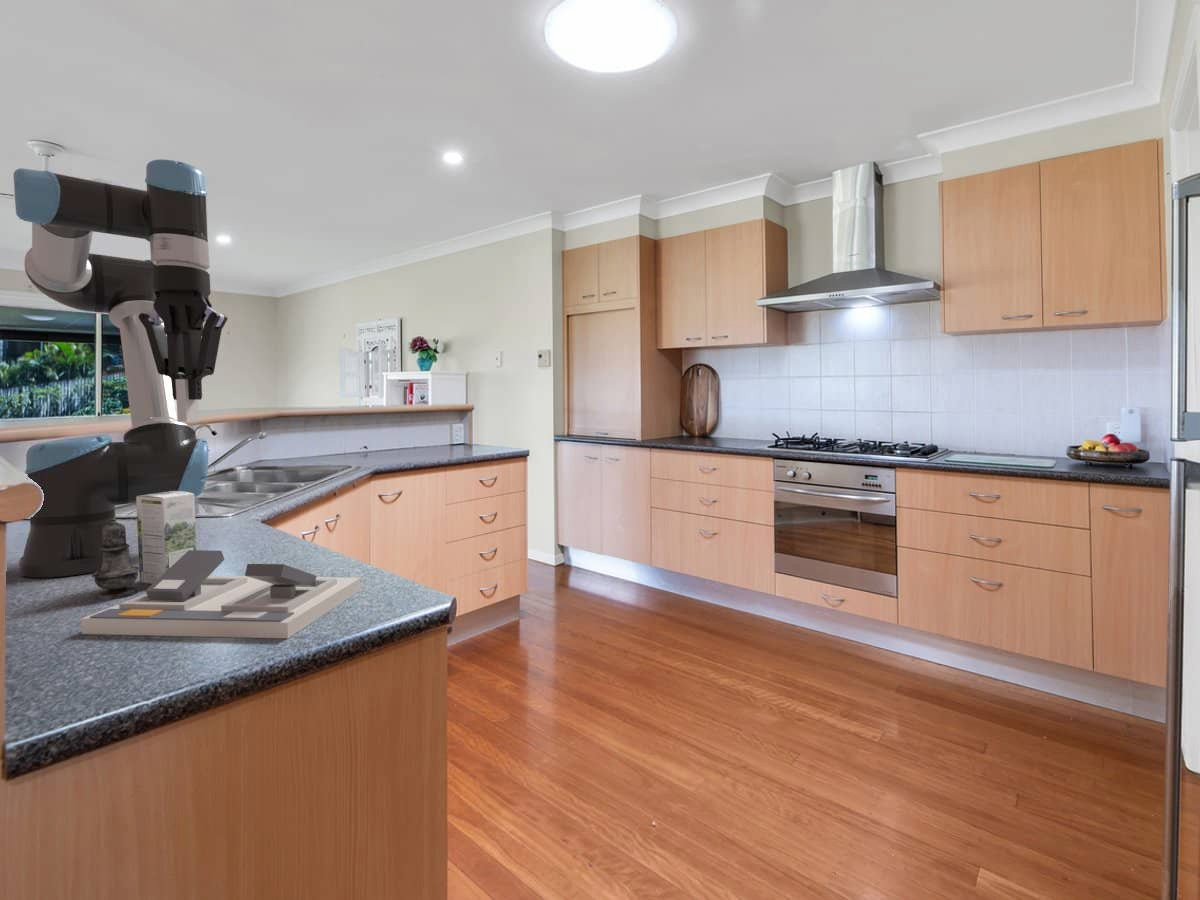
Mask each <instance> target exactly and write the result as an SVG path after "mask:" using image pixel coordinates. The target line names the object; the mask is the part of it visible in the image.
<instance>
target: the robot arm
mask: <svg viewBox="0 0 1200 900" xmlns="http://www.w3.org/2000/svg"><path fill="white" fill-rule="evenodd" d="M145 169H146V174H145V178H144V182H145V183H146V190H145V189H144V190H143V189H138V188H132V187H127V186H122V185H117V184H110V183H106V182H100V181H96V180H90V179H86V178H85V179H84V178H80V177H75V176H69V175H66V174H62V173H61V174H60V173H55V172H52V171H49V170H38V169H29V168H22V167H21V168H17V169H15V170H14V172H13V189H14V190H13V191H14V204H15V205H14V206H15V214H16V216H17V217H18V219H20V220H22V221H24V222H28V223H31V247H30V248H29V249H28V251H27V252H26V253H25V257H24V270H25V273H26V276H27V278H28V279H29V281H30V283H31V284H32V285H33V286H34V287H35V288H37V290H38V291H39V292H41V293H42V294H44V295H46V297H48V298H50V299H52V300H54V301H55V302H57V303H59V304H61V305H63V306H66V307H69V308H70V309H71V308H72V309H75V310H79V311H84V312H93V313H100V314H108V319H109V321H110V323H111V324H112V325H113V326H115V327H117V328H118V329H119V332H120V341H121V349H122V356H123V357H122V358H123V363H124V366H123V367H124V373H125V381H126V388H127V397H128V404H129V412H130V414H129V415H130V421H131V427H130V428H129V429H127V430H126V431H125V432H124V433H123V436H122V438H123V441H116V442H115V441H113V438H111V435H109V434H97V435H86V436H77V437H70V438H63V439H57V440H51V441H44V442H43V441H42V442H39V443H36V444H32V445H31V446H30V447H29V448H28V449H27V451H26V454H25V456H26V457H25V458H26V459H25V461H26V463H25V466H26V467H25V469H24V473H25V474H24V475H27V476H28V477H29V478H30V479H32V480H33V481H34V482H36V483H37V484H38V485H39V486H40V487H41V489H42V490H43V493H44V501H43V505H42V507H41V509H40V510H39V511H38V512H37V513H36V514H35V515H34V516H33V517H31V518H30V517H29V524H30V526H29V533H28V535H27V538H26V543H25V546H24V551H23V556H21V557H20V559H19V561H18V571H19V575H20V574H21V575H23V576H22V577H24V576H26V578H33V579H34V578H36V579H38V578H39V579H40V578H41V579H42V578H58V577H59V578H60V577H69V576H75V575H76V576H77V575H83V574H90V573H91V574H92V573H95V572H97V571H99V570H100V569H101V568H102V564H103V551H102V550H100V548H101V547H103V541H102V528H103V527H104V526H105V525H107V524H109V523H111V518H112V517H114V518H115V519H116V518H117V517H116V506H118V505H119V506H120V505H133V504H136V497H137V496H141V495H149V494H155V493H162V492H170V491H183V492H189V493H193V494H194V498H196V497H199V496H200V495H201V494H202V493H203V492H204V490H205V486H206V482H207V477H208V471H209V470H208V469H209V444H208V441H207V440H206V439H204V438H201V437H200V438H197V435H196V431H195V428H193V427H192V426H191V425H189V424H187V423H186V422H199V421H200V407H199V400H200V401H201V400H202V398H203V390H202V388H203V385H202V384H203V383H202V380H203V378H205V377H207V376H208V377H209V376H212V375H213V374H214V373H215V369H216V363H217V357H218V351H219V347H220V341H221V336H222V331H223V328H224V326H225V324H226V323H227V321H228V316H227V315H226V314H223V313H219V312H218V311H217V310H214V309H213V305H212V303H211V301H210V299H209V296H210V295H211V275H210V273H209V272H208V271H207V270H208V269H210V255H209V252H210V251H209V250H210V249H209V241H208V221H207V220H208V218H207V217H208V214H207V213H208V212H207V196H208V192H207V190H206V189H207V188H206V182H205V176H204V174H203V172H202V171H201V170H200V169H198V168H197V167H195V166H194V165H192V164H188V163H186V162H183V161H182V162H181V161H177V160H173V159H172V160H171V159H161V158H160V159H153V160H151V161H149V162H148V163H147V164H146V168H145ZM94 232H95V233H102V234H109V235H114V236H122V237H129V238H136V239H143V240H145V241H147V242H149V248H150V259H145V260H141V259H134V258H127V257H119V256H114V255H113V256H112V255H107V254H106V255H105V254H98V253H97V254H96V253H91V252H90V249H91V244H92V240H93V239H92V238H93V235H94ZM27 476H26V477H27ZM28 477H27V478H28ZM115 522H117V519H116V520H115ZM129 547H130V546H129ZM129 547H128V548H127V554H128V561H129V562H130V560H131V558H130V557H131V555H130V548H129ZM21 575H20V576H21Z"/></svg>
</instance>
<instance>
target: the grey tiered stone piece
mask: <svg viewBox="0 0 1200 900" xmlns="http://www.w3.org/2000/svg"><path fill="white" fill-rule="evenodd" d="M115 518H116V517H115ZM115 518H114V517H112V518H111V523H109V524H107V525H105V526H104V527H103V528H102V541H103V547H101V548H100V550H102V551H103V564H102V568H101V569H100V570H99V571H96V572H92V573H91V577H92V578H94V582H95V584H96V586H97V587H99V588H100V589H102V590H104V591H101V592H99V593H98V594H97V595H96V596H95V600H98V599H100V601H109V600H110V601H111V600H118V599H123V598H129V597H131V596H134V595H136V594H138V593H140V590H139V589H138V588H136V587H132V585H133V584H134V583H135V582H136V581H137V579H138V576H139V574H138V572H139V570H140V568H139V566H133V565H132V564H131V563H130V561H128V554H127V548H128V547H130V544H127V533H126V526H125V525H124V524H122V523H121V522H117V519H115ZM115 520H116V522H115Z"/></svg>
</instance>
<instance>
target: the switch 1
mask: <svg viewBox="0 0 1200 900" xmlns="http://www.w3.org/2000/svg"><path fill="white" fill-rule="evenodd" d="M224 560H225V557H224V555H223V551H222V550H206V549H205V550H203V549H202V550H201V549H200V550H199V549H198V550H197V549H196V550H189V551H187V552H186V553H185V554H184V555H183V556H182V557H181V558H180V559H179V560H178V561H177V562H176V563H175V564H174V565H173V566H171V567H170V568H169V569H168V570H167V571H166V572H165V573H164V574H163V575H162V576H161V577H160V578H159V579H158V580H157V581H155V582H154V583H153V584H150V586H149V587H148V588H147V589H146V590H145V594H146V593H147V595H148V597H149V599H150V600H174V601H185V600H186V599H187V598H188V597H189V596H190V595H191V594H192V593H193V592H194V591H195V590H196V589H197V588H198V587H199V586H200V585H201V583H202V582H203V581H204V580H205V579H206V578H207V577H208V576H209V575H210V576H211V574H212V573H213V572H214V571H215V570H216V569H217V568H218V567H219V566H220V565H221V564H222V562H224Z"/></svg>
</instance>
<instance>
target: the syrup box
mask: <svg viewBox="0 0 1200 900" xmlns="http://www.w3.org/2000/svg"><path fill="white" fill-rule="evenodd" d="M135 505H136V506H135V507H136V523H137V525H136V526H137V527H136V529H137V543H138V544H137V545H138V546H137V547H138V567H139V568H140V570H139V571H138V572H139V574H138V576H139V582H140V583H141V584H148V585H149V584H150V585H152V584H153V583H154V582H155V581H157V580H158V579H159V578H160V577H161V576H162V575H163V574H164V573H165V572H166V571H167V570H168V569H169V568H170V567H171V566H173V565H174V564H175V563H176V562H177V561H178V560H179V559H180V558H181V557H182V556H183V555H184V554H185V553H186V552H187V551H189V550H197V540H196V539H197V537H196V535H197V534H196V533H197V532H196V509H195V508H196V507H195V506H196V505H195V497H194V494H193V493H189V492H183V491H170V492H162V493H155V494H149V495H141V496H137V497H136V503H135Z"/></svg>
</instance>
